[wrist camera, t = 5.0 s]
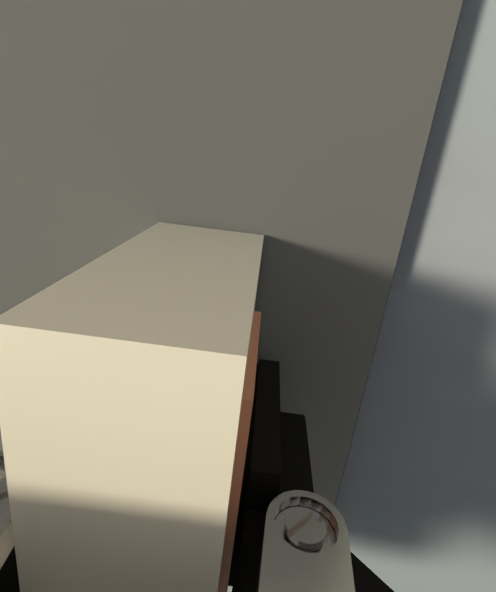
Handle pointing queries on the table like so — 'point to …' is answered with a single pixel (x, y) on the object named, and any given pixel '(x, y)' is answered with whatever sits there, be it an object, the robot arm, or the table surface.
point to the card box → (132, 414)
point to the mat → (229, 160)
